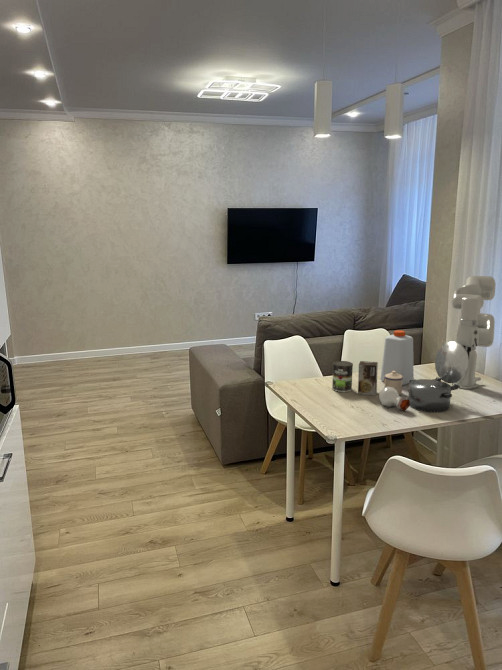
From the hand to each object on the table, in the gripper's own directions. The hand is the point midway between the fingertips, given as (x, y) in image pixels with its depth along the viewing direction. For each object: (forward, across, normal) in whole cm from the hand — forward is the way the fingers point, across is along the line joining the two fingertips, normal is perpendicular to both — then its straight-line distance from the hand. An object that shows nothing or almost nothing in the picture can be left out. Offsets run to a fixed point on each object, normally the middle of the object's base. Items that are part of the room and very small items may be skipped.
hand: (465, 359), depth 256 cm
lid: (0, 0, +9) cm, 9 cm away
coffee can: (+20, +38, +45) cm, 62 cm away
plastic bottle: (+20, +37, +10) cm, 43 cm away
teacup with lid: (+20, +23, +25) cm, 40 cm away
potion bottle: (+21, +5, +38) cm, 43 cm away
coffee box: (+20, +27, +37) cm, 50 cm away
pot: (+20, 0, +21) cm, 29 cm away
